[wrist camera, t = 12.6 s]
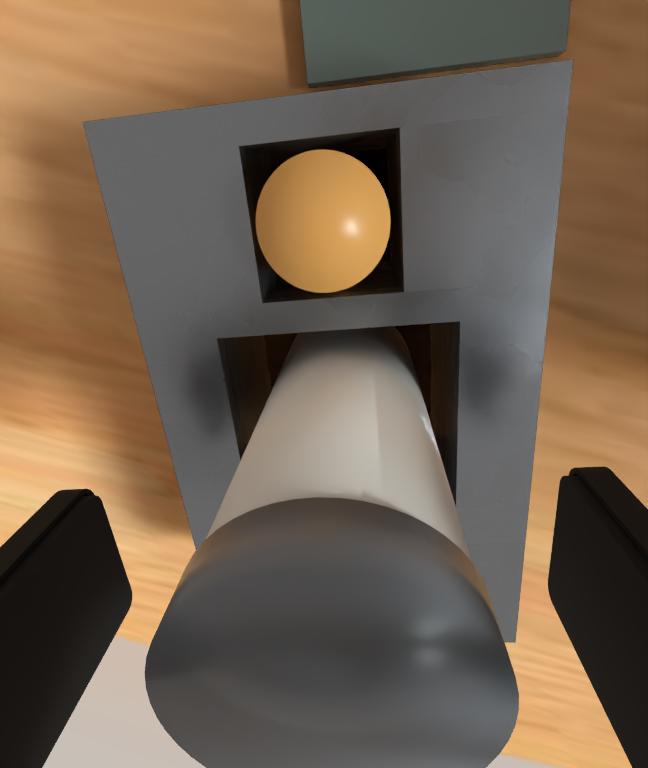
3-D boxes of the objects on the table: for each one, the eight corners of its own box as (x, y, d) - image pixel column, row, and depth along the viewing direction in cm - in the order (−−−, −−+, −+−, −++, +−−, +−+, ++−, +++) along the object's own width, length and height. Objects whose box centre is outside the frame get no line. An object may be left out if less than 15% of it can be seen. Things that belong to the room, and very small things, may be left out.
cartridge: (277, 311, 16) (99, 569, 5) (412, 300, 16) (535, 562, 5) (293, 428, 18) (188, 802, 7) (415, 422, 18) (506, 815, 7)
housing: (171, 143, 14) (82, 121, 10) (499, 104, 13) (573, 58, 9) (251, 540, 20) (220, 641, 16) (478, 535, 19) (515, 642, 15)
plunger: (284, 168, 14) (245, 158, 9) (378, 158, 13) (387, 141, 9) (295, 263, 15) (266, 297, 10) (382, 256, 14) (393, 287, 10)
